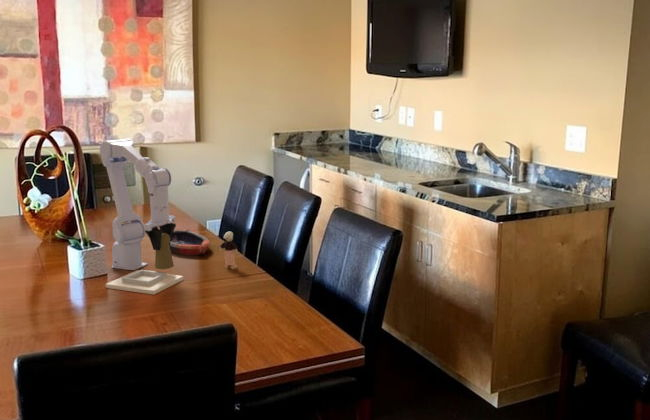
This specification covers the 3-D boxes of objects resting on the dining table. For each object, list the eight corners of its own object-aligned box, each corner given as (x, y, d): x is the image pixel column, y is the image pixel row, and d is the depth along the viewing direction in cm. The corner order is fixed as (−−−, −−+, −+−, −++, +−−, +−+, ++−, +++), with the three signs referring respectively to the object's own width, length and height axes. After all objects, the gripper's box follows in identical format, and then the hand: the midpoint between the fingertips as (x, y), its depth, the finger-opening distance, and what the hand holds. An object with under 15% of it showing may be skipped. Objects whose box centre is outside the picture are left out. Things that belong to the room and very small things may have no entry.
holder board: (105, 287, 213) (105, 279, 212) (137, 273, 227) (137, 265, 227) (154, 294, 206) (153, 286, 206) (183, 279, 221) (183, 271, 220)
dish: (190, 238, 276) (189, 226, 275) (220, 255, 250) (219, 242, 249) (152, 243, 268) (152, 230, 267) (180, 261, 242) (179, 248, 241)
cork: (169, 269, 218) (166, 236, 215) (151, 269, 219) (148, 236, 217) (176, 263, 224) (174, 231, 221) (159, 263, 225) (156, 231, 222)
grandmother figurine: (242, 266, 235) (241, 231, 232) (237, 269, 232) (236, 233, 229) (222, 264, 238) (221, 229, 235) (217, 267, 234) (215, 231, 231)
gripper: (157, 211, 209) (159, 254, 212) (182, 203, 222) (184, 243, 225) (137, 210, 211) (140, 252, 214) (164, 201, 225) (166, 241, 228)
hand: (161, 247), depth 220 cm, fingers closed on cork, 5 cm apart
